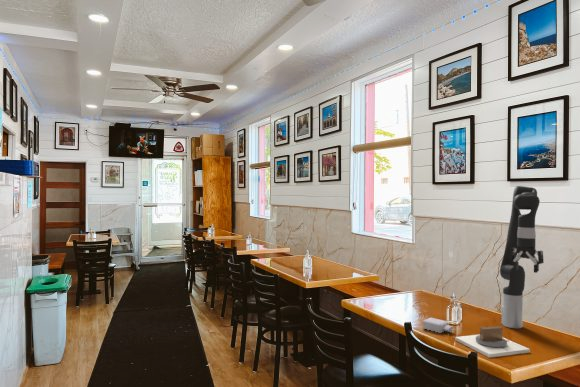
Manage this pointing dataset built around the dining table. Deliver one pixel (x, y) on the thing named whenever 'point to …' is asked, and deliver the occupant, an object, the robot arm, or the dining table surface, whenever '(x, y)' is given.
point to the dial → (491, 337)
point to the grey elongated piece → (437, 325)
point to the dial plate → (490, 351)
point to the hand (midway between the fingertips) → (526, 271)
